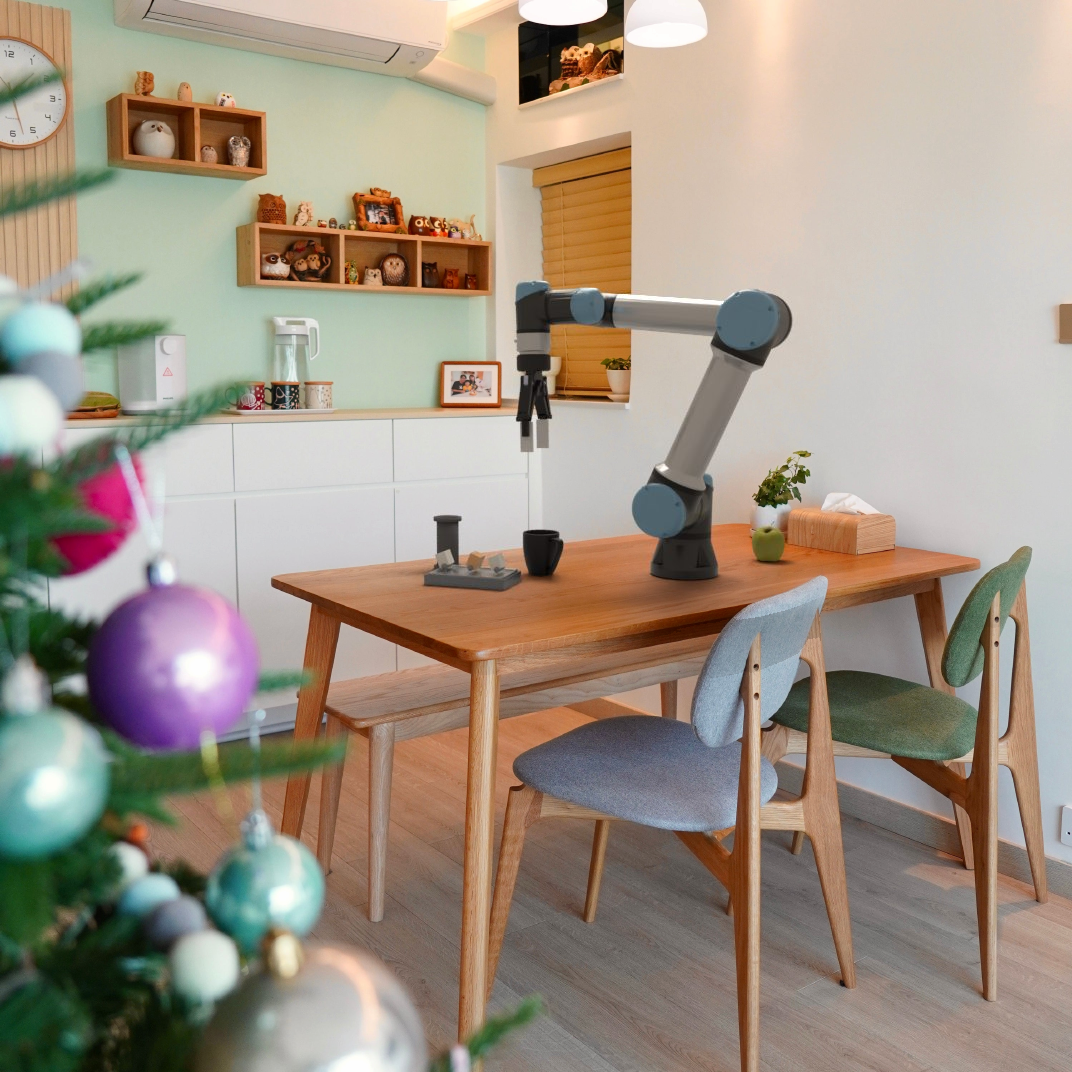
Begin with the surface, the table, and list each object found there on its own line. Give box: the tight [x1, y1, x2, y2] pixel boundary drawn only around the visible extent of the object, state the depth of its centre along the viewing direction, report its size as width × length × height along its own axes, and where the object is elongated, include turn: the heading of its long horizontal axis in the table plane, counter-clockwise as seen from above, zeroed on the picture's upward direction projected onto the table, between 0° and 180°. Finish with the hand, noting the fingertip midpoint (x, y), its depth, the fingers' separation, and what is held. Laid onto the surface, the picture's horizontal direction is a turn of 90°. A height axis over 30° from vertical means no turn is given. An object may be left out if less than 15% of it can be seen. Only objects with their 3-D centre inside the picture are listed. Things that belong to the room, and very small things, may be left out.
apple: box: [751, 521, 786, 562], centre depth 257 cm, size 8×8×10 cm
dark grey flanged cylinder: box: [433, 514, 463, 570], centre depth 244 cm, size 6×6×12 cm
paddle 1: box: [434, 549, 454, 569], centre depth 230 cm, size 2×4×4 cm, turn 161°
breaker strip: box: [423, 564, 522, 591], centre depth 229 cm, size 18×11×3 cm, turn 72°
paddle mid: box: [465, 550, 486, 571], centre depth 228 cm, size 2×4×4 cm, turn 163°
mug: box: [522, 529, 565, 577], centre depth 237 cm, size 8×12×10 cm
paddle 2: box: [486, 552, 508, 573], centre depth 226 cm, size 2×4×4 cm, turn 161°
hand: (535, 450), depth 238 cm, fingers open, 13 cm apart
